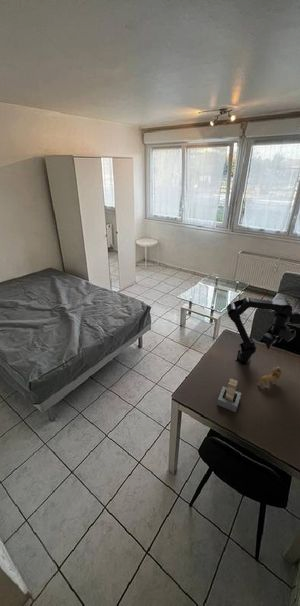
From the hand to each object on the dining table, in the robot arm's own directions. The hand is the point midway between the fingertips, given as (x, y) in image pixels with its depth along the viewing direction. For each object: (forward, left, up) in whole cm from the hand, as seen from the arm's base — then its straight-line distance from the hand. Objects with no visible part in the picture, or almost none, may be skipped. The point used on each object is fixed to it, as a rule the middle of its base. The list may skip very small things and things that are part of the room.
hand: (272, 345), depth 143 cm
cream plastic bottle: (+4, -40, -12) cm, 42 cm away
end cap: (+4, -40, -13) cm, 42 cm away
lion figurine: (+9, -14, -13) cm, 21 cm away
